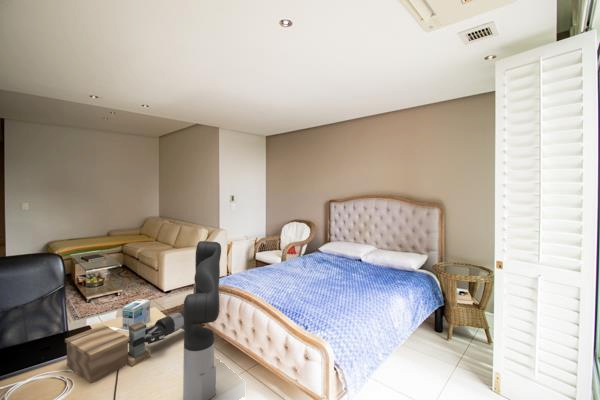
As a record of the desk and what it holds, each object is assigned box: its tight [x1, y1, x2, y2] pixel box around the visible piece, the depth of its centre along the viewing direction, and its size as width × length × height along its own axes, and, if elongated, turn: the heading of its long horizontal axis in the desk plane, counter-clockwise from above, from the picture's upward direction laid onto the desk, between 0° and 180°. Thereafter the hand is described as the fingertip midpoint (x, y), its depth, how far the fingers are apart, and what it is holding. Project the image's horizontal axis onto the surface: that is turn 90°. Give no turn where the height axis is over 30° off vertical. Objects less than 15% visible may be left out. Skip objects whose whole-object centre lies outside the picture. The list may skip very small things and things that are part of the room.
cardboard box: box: [64, 324, 152, 384], centre depth 106 cm, size 21×20×10 cm
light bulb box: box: [121, 298, 151, 330], centre depth 134 cm, size 11×7×11 cm, turn 168°
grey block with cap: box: [128, 322, 146, 358], centre depth 108 cm, size 4×4×13 cm
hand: (129, 342), depth 106 cm, fingers closed on grey block with cap, 4 cm apart
